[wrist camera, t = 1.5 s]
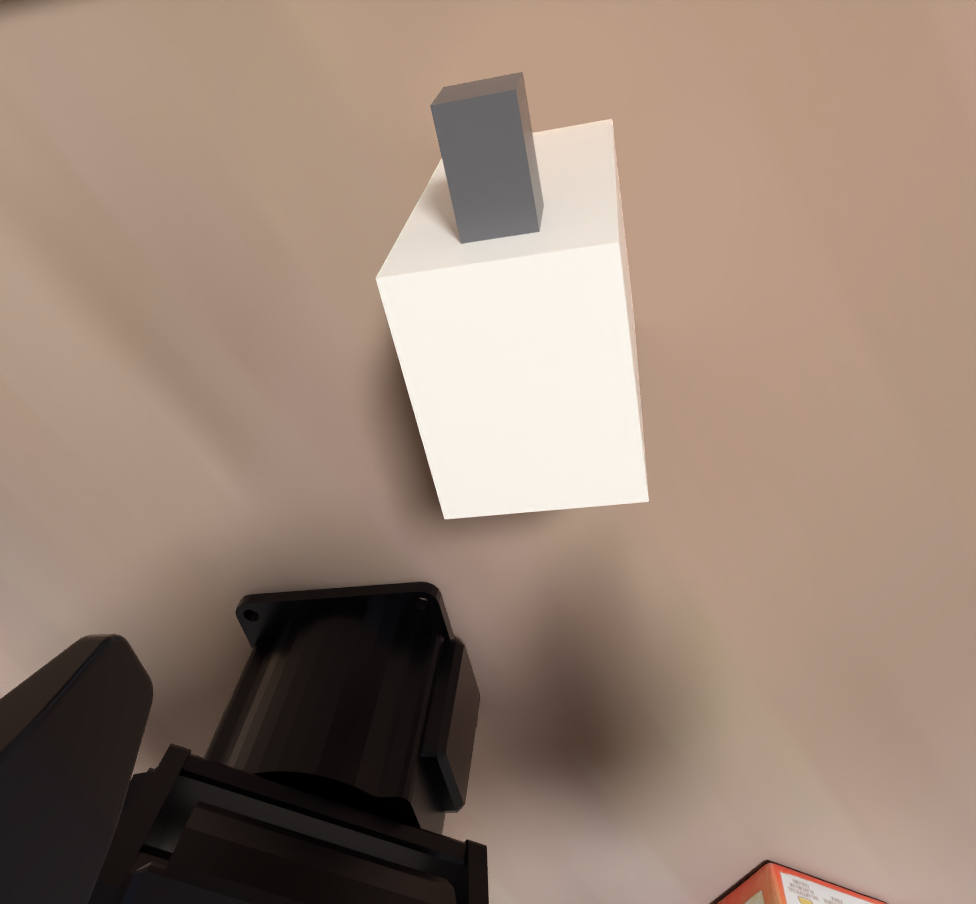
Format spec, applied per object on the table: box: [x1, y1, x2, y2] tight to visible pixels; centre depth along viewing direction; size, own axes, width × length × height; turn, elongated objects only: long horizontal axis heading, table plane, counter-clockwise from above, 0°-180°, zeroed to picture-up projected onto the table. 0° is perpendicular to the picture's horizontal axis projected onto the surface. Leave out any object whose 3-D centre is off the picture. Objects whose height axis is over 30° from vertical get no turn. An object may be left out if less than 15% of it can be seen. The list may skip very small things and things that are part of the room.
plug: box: [376, 72, 649, 519], centre depth 15 cm, size 4×6×7 cm, turn 11°
